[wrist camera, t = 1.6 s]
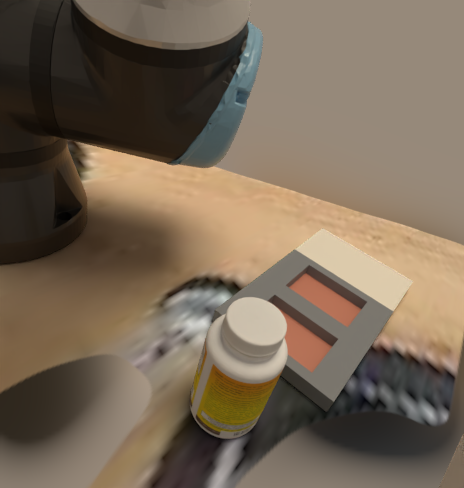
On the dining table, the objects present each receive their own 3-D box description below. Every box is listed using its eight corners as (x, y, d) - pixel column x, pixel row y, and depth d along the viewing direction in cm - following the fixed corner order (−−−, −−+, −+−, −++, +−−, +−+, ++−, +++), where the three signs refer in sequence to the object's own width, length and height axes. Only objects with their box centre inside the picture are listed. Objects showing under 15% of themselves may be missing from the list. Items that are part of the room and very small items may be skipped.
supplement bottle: (270, 430, 29) (316, 347, 23) (201, 451, 26) (233, 365, 21) (241, 368, 32) (275, 283, 26) (179, 382, 30) (201, 293, 24)
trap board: (326, 412, 31) (333, 402, 30) (212, 320, 35) (215, 309, 35) (406, 290, 45) (413, 281, 45) (318, 237, 50) (322, 228, 49)
